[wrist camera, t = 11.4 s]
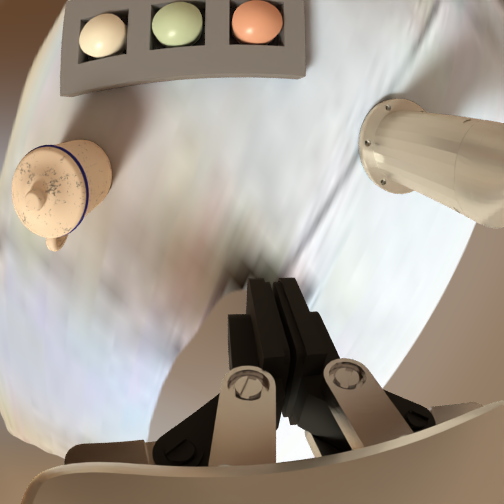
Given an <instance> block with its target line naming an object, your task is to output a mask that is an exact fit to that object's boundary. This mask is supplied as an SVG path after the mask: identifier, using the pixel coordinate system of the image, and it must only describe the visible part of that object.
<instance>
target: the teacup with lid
mask: <svg viewBox="0 0 504 504" xmlns="http://www.w3.org/2000/svg"><path fill="white" fill-rule="evenodd" d="M111 181H112V170H111V165H110V161H109V159H108V157H107V155H106V154H105V152H104V151H103V150H102V149H101V148H100V147H99V146H98V145H97V144H95V143H93V142H91V141H88V140H73V141H69V142H65V143H61V144H57V145H43V146H39V147H37V148H35V149H33V150H31V151H30V152H29V153H28V154H26V155H25V157H24V158H23V159H22V160H21V162H20V163H19V165H18V166H17V169H16V171H15V174H14V177H13V182H12V199H13V204H14V207H15V210H16V212H17V215H18V216H19V218H20V220H21V221H22V222H23V224H24V225H25V226H26V227H27V228H28V229H29V230H31V231H32V232H34V233H35V234H37V235H39V236H42V237H46V244H47V247H48V248H49V249H50V250H51V251H58V250H60V249H61V248H62V246H63V245H64V243H65V241H66V239H67V236H68V234H69V233H71V232H72V231H73V230H74V229H76V228H77V226H78V225H79V224H80V223H81V221H82V220H83V218H84V217H85V216H86V215H87V214H88V213H89V212H91V211H92V210H93V209H94V208H95V207H96V206H97V205H99V204H100V203H101V202H102V201H103V199H104V198H105V197H106V195H107V193H108V191H109V189H110V186H111Z"/></svg>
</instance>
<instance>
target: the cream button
mask: <svg viewBox="0 0 504 504" xmlns="http://www.w3.org/2000/svg"><path fill="white" fill-rule="evenodd" d="M127 31H128V27H127V25H126V24H125V23H124V22H123V21H122V20H121V19H120V18H119V17H118V16H116V15H114V14H101V15H98V16H96V17H94V18H93V19H91V20H90V21H89V22H88V23H87V24H86V25H85V26H84V28H83V29H82V31H81V34H80V38H79V44H80V47H81V49H82V50H83V51H84V52H85V53H86V54H88V55H90V56H93V57H95V58H97V59H102V58H107V57H112V56H117V55H120V54H121V53H122V52H123V51H124V50H125V49H126V47H127Z"/></svg>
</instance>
